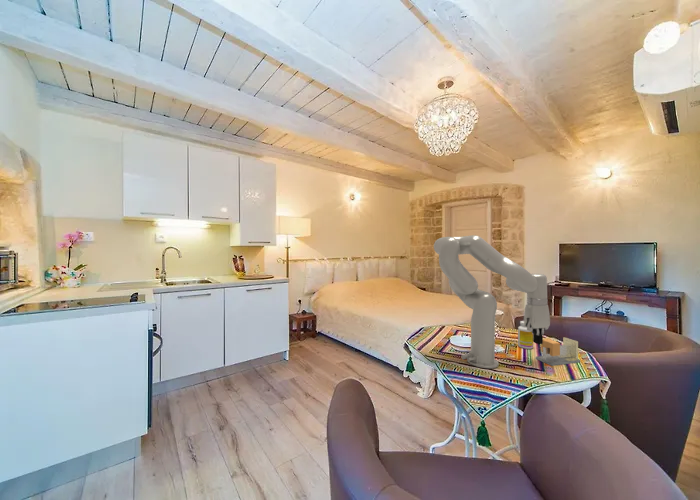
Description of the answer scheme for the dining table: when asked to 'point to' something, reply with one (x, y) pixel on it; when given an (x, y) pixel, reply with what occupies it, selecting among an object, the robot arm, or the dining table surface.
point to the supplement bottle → (524, 337)
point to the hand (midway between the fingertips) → (538, 343)
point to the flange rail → (561, 354)
